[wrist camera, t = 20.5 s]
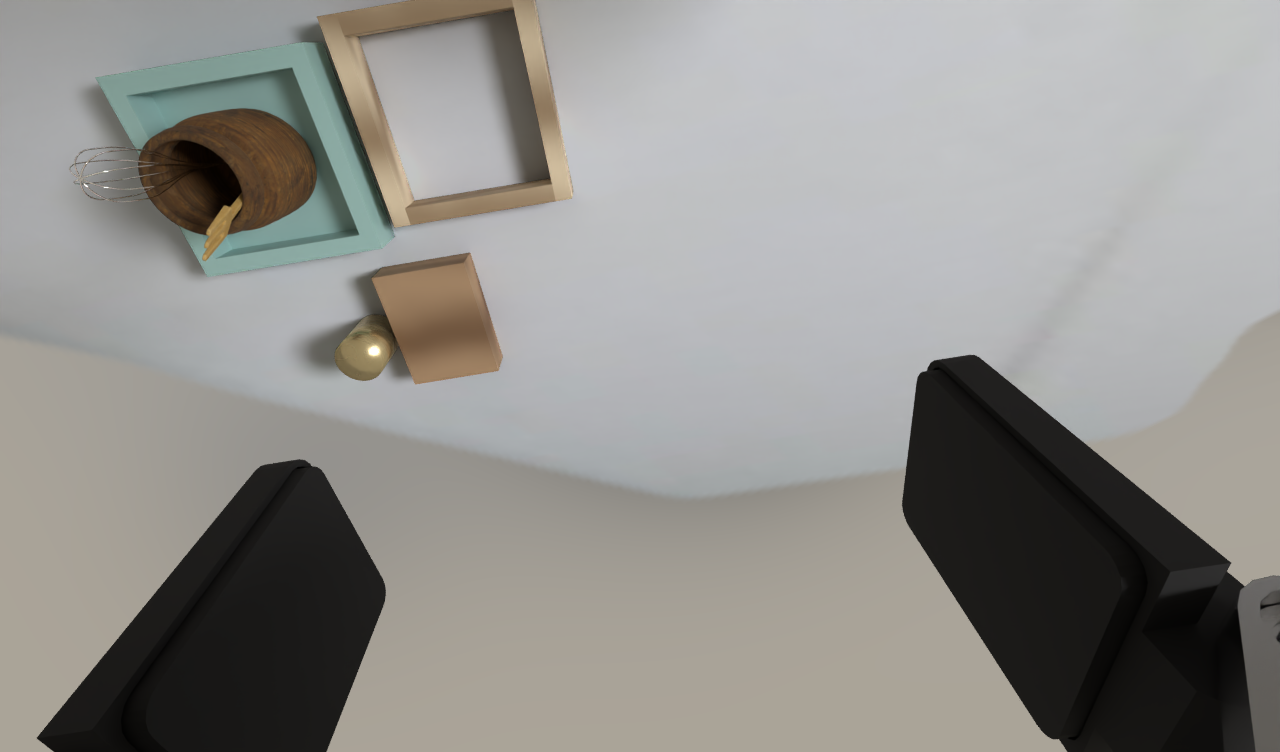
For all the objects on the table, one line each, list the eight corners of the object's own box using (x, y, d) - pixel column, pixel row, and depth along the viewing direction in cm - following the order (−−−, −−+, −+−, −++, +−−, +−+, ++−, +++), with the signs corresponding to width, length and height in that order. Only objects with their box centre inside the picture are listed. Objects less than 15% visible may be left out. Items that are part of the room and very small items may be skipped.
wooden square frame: (332, 18, 31) (316, 16, 29) (531, -16, 30) (527, -20, 29) (404, 219, 36) (394, 227, 35) (573, 191, 36) (571, 198, 34)
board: (384, 265, 38) (371, 278, 36) (471, 250, 38) (463, 262, 36) (424, 367, 42) (415, 384, 40) (503, 354, 42) (498, 370, 40)
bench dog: (350, 318, 39) (326, 343, 36) (392, 311, 39) (372, 336, 36) (367, 355, 41) (345, 383, 37) (407, 349, 41) (390, 376, 37)
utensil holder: (220, 85, 31) (33, 103, 21) (337, 141, 33) (218, 183, 23) (205, 183, 34) (31, 242, 24) (314, 230, 36) (197, 304, 25)
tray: (129, 75, 31) (95, 77, 29) (322, 42, 31) (302, 42, 29) (230, 263, 37) (207, 276, 35) (394, 236, 37) (382, 248, 35)
